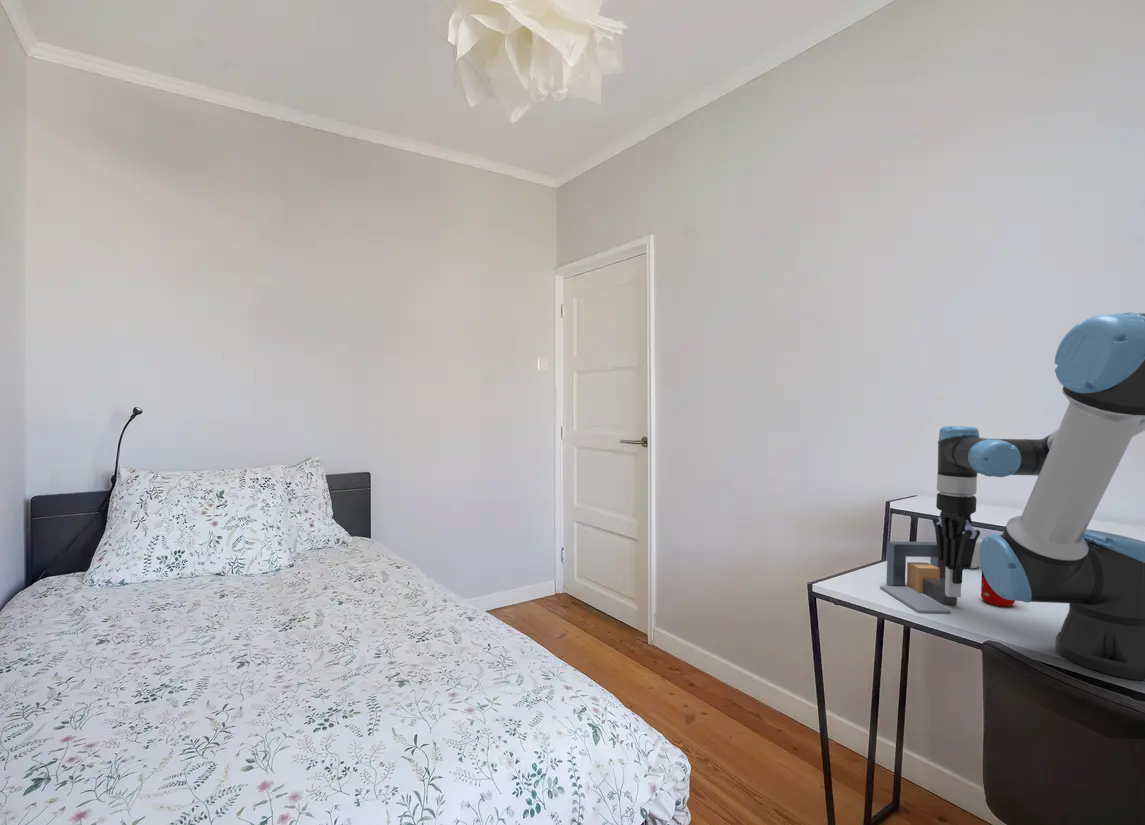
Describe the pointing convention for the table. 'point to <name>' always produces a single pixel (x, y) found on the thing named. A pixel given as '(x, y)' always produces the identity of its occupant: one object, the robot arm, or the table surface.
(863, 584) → the table surface
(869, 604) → the table surface
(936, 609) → the mat
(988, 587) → the beverage can
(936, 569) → the plug
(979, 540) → the cup
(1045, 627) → the table surface
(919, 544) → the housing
